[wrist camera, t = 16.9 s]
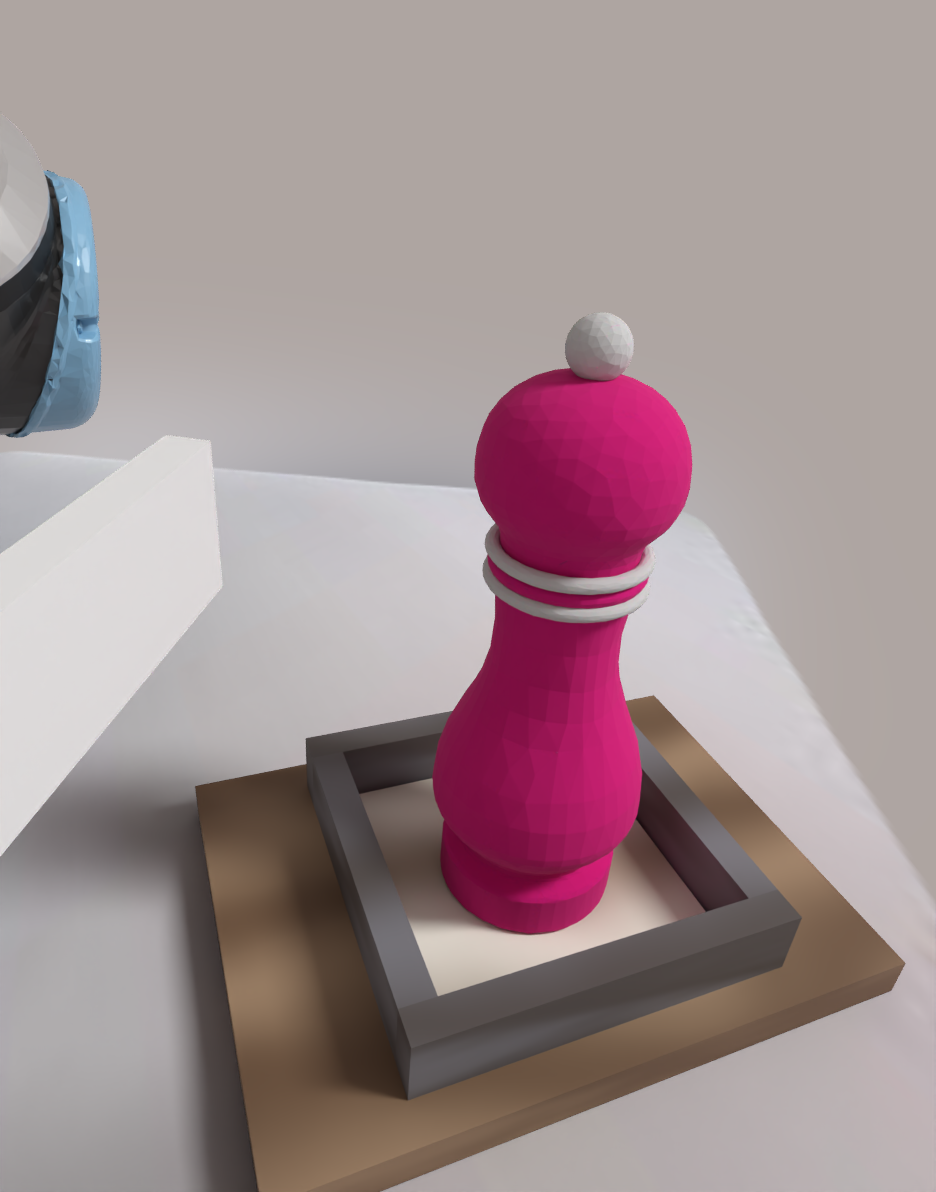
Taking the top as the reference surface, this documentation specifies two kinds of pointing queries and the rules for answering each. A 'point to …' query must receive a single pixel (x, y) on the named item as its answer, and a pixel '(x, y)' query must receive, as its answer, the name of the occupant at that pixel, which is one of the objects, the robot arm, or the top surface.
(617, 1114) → the top surface
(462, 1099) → the socket board
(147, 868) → the top surface
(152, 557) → the robot arm
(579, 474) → the pepper mill
